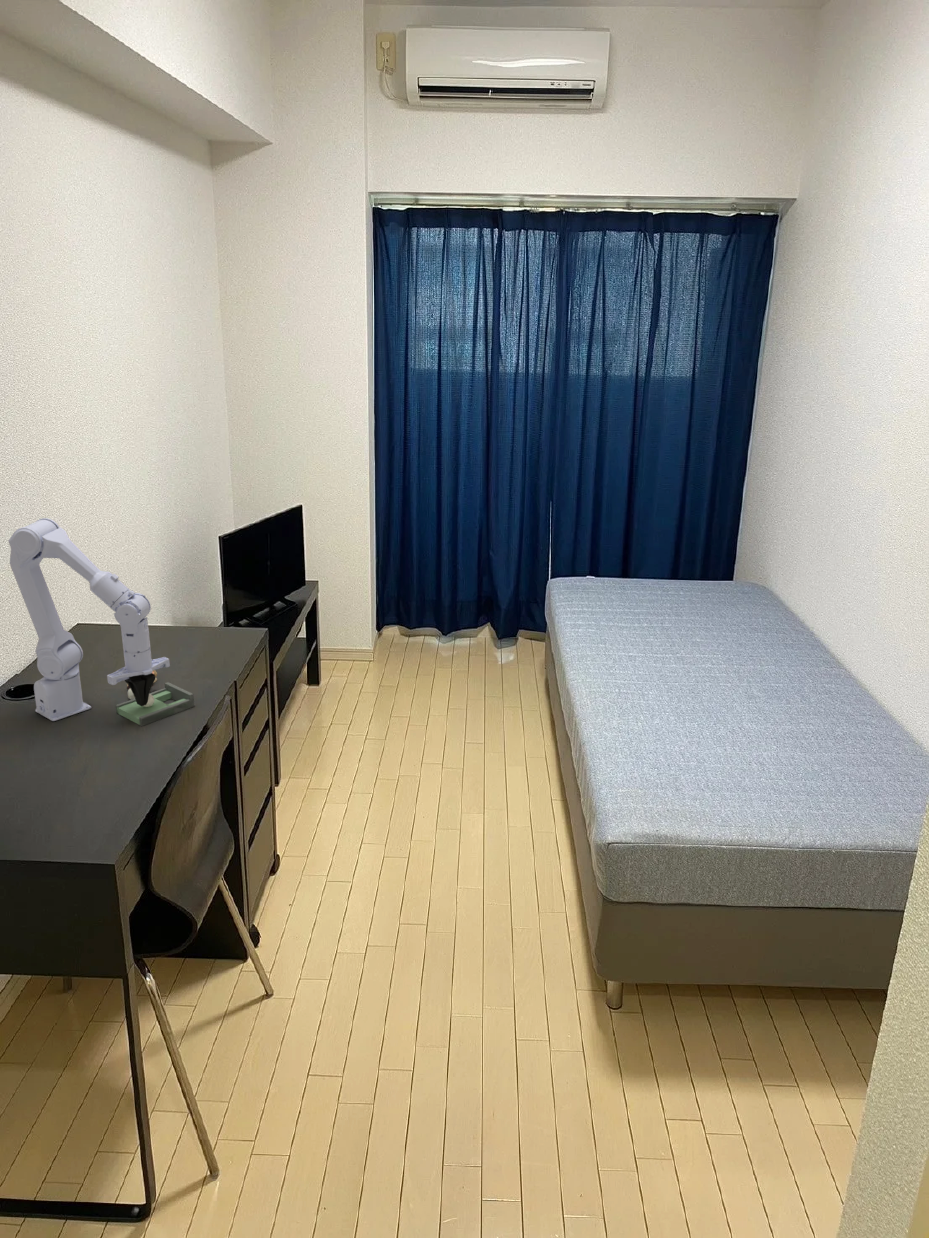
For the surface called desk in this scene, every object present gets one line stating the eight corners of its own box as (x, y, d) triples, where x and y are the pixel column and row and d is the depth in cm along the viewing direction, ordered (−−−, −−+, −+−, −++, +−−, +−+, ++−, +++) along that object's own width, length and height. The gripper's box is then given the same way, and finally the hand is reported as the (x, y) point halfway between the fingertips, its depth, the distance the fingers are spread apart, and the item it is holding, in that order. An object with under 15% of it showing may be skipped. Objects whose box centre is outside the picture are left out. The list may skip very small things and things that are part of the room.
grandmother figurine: (141, 685, 227) (123, 709, 215) (132, 672, 226) (114, 695, 214) (167, 673, 226) (151, 697, 214) (159, 661, 225) (142, 684, 213)
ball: (141, 705, 206) (151, 693, 207) (134, 700, 207) (143, 689, 208) (150, 711, 208) (159, 700, 209) (142, 706, 210) (152, 695, 211)
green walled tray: (141, 726, 203) (140, 713, 202) (116, 713, 209) (115, 700, 207) (194, 706, 213) (193, 693, 212) (169, 694, 219) (168, 682, 218)
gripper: (117, 662, 195) (123, 719, 200) (175, 644, 206) (180, 698, 210) (99, 654, 199) (106, 710, 204) (157, 636, 210) (162, 690, 214)
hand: (142, 703), depth 207 cm, fingers closed, pressing on ball
